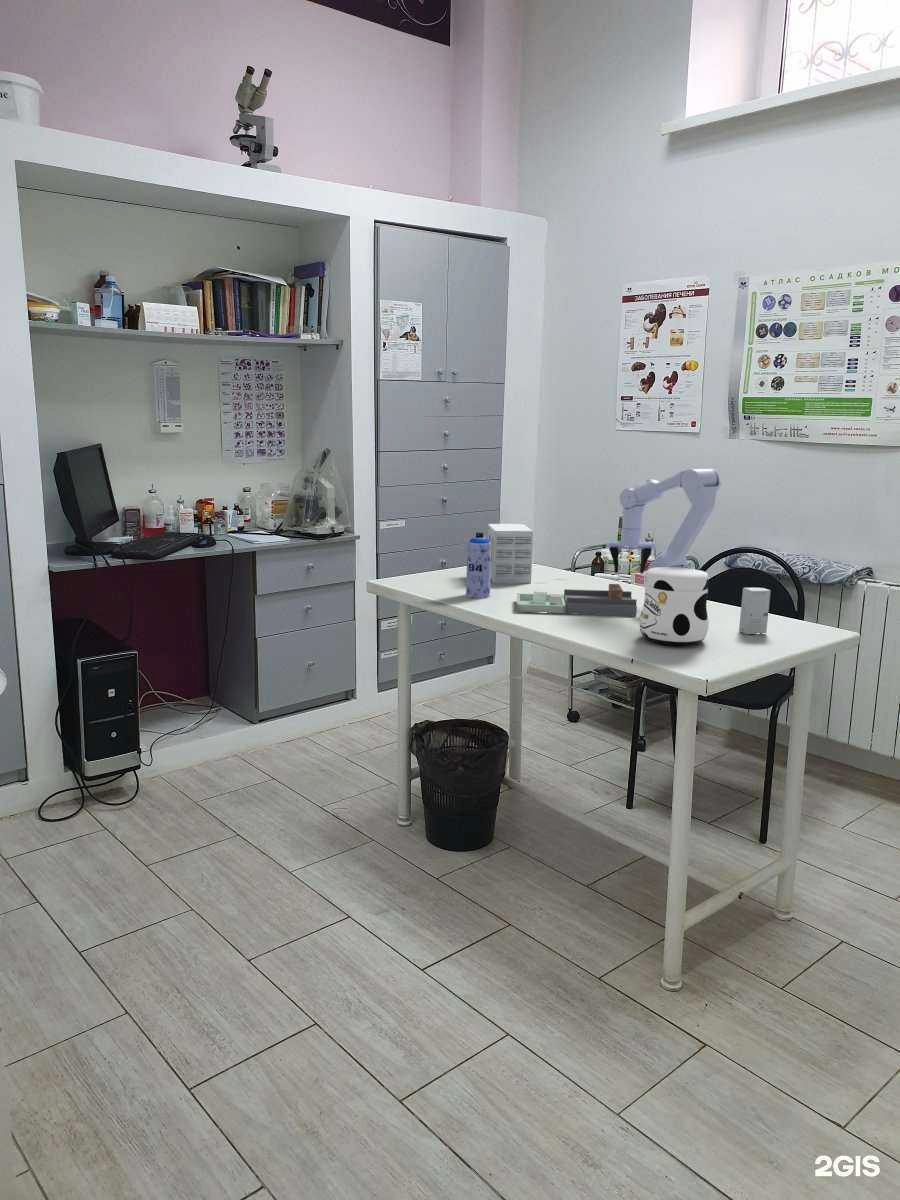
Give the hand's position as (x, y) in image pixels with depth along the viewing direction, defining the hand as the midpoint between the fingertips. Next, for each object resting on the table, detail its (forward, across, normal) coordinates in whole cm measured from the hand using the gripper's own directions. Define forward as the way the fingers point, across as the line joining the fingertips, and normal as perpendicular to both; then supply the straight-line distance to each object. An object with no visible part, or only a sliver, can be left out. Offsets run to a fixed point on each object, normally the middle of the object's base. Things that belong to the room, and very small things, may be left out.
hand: (628, 572), depth 278 cm
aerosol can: (+10, +46, -2) cm, 47 cm away
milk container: (+10, -6, +46) cm, 47 cm away
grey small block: (+7, +27, +7) cm, 29 cm away
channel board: (+9, +10, +11) cm, 17 cm away
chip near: (+7, +23, +15) cm, 28 cm away
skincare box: (+10, -29, +34) cm, 46 cm away
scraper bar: (+6, +5, +12) cm, 14 cm away
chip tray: (+9, +27, +11) cm, 31 cm away
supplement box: (+10, +37, -33) cm, 50 cm away
